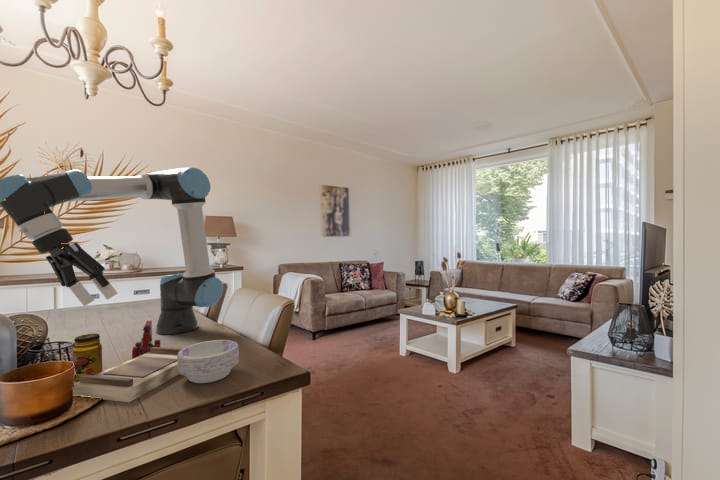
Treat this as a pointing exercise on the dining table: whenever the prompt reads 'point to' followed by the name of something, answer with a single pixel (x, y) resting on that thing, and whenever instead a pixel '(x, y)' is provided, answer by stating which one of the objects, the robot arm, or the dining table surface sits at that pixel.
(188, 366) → the paper bowls
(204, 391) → the dining table surface
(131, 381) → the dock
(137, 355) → the toy fire truck
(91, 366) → the condiment
